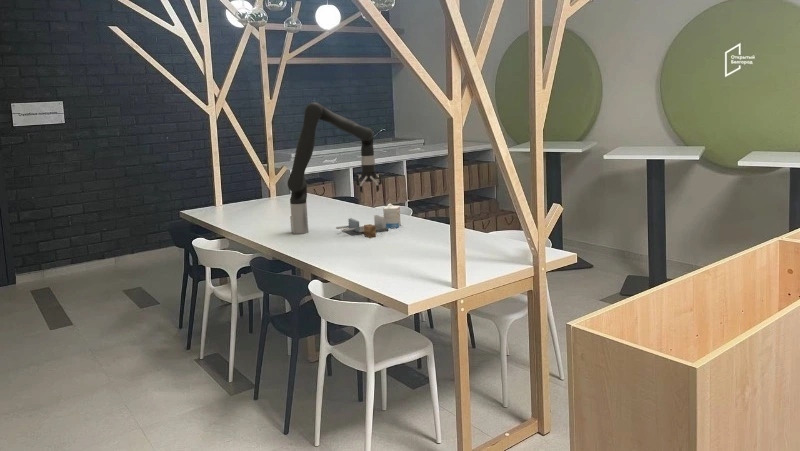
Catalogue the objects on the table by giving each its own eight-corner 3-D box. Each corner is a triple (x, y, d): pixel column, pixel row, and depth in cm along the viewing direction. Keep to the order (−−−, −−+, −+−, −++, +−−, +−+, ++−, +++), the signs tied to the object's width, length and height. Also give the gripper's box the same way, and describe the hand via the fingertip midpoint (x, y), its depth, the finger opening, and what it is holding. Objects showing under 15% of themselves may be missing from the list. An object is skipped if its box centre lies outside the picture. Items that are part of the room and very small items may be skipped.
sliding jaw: (342, 233, 377) (342, 223, 376) (335, 229, 387) (335, 220, 386) (359, 231, 381) (359, 221, 380) (352, 227, 391) (351, 218, 390)
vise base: (352, 235, 378) (351, 222, 377) (343, 231, 391) (342, 218, 389) (388, 230, 387) (387, 218, 386) (378, 226, 399) (378, 214, 398)
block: (369, 237, 371) (368, 227, 370) (364, 235, 377) (363, 225, 376) (376, 237, 373) (375, 226, 372) (371, 234, 379) (370, 224, 378)
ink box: (398, 228, 394) (397, 205, 391) (383, 228, 395) (382, 205, 393) (400, 225, 402) (400, 202, 399) (387, 225, 404) (386, 202, 401)
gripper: (354, 165, 378) (356, 193, 381) (380, 163, 378) (382, 192, 381) (355, 163, 385) (357, 191, 389) (381, 162, 385) (382, 190, 388)
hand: (369, 192), depth 385 cm, fingers open, 8 cm apart
